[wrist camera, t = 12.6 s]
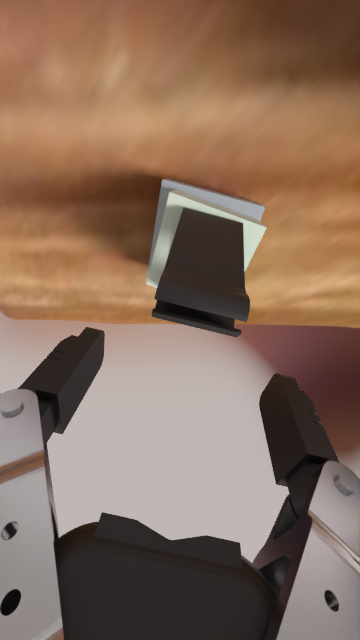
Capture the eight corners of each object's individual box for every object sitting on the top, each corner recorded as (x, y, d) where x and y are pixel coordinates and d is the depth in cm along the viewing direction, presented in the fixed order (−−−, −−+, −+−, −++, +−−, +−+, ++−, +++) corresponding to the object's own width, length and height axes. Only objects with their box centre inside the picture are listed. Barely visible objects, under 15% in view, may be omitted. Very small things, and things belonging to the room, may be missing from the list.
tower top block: (257, 219, 27) (266, 227, 22) (223, 292, 32) (225, 310, 28) (175, 189, 26) (169, 191, 22) (154, 269, 31) (146, 284, 27)
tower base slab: (257, 202, 30) (265, 207, 26) (227, 284, 36) (229, 298, 32) (168, 178, 30) (162, 179, 25) (154, 265, 36) (146, 277, 32)
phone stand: (183, 206, 22) (167, 232, 12) (243, 222, 22) (276, 261, 12) (165, 288, 27) (142, 356, 17) (214, 301, 27) (220, 375, 17)
